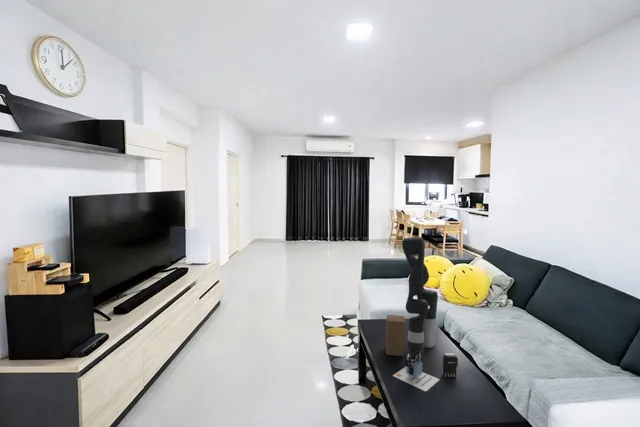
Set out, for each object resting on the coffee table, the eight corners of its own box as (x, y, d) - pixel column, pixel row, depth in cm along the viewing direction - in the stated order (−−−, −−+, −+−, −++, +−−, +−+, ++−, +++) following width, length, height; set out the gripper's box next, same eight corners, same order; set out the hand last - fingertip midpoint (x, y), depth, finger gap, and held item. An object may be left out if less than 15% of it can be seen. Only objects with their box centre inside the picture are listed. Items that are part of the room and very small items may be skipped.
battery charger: (443, 379, 170) (444, 356, 169) (441, 374, 174) (442, 353, 173) (458, 379, 170) (459, 357, 168) (455, 375, 173) (456, 353, 172)
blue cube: (412, 369, 175) (412, 358, 174) (421, 373, 171) (422, 362, 170) (406, 373, 171) (406, 362, 170) (416, 377, 167) (416, 366, 166)
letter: (407, 365, 182) (407, 365, 182) (439, 379, 169) (439, 379, 169) (392, 375, 172) (392, 375, 172) (425, 391, 159) (425, 391, 159)
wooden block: (403, 357, 191) (405, 322, 189) (385, 355, 192) (386, 320, 191) (403, 348, 200) (404, 315, 199) (385, 347, 202) (386, 313, 201)
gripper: (416, 332, 177) (414, 363, 179) (400, 340, 167) (399, 374, 168) (429, 337, 172) (428, 369, 173) (414, 346, 162) (413, 380, 163)
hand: (414, 371), depth 171 cm, fingers closed on blue cube, 5 cm apart
